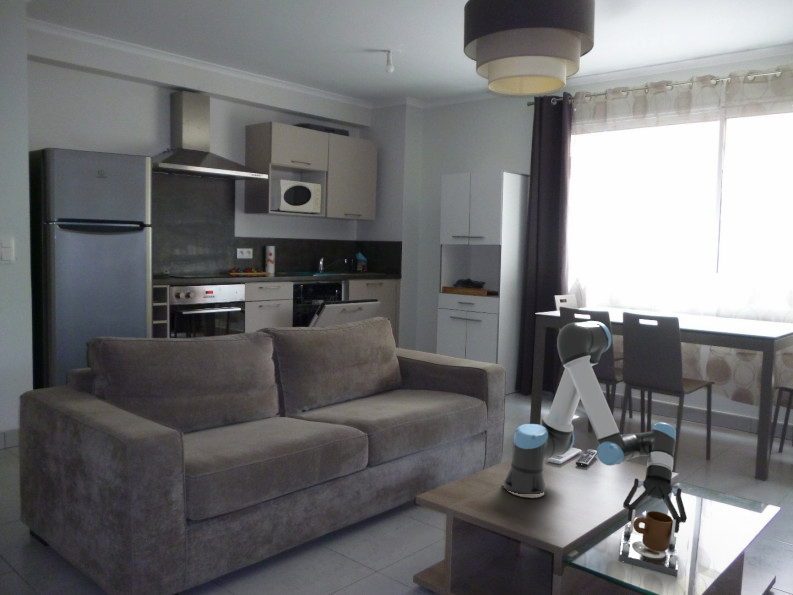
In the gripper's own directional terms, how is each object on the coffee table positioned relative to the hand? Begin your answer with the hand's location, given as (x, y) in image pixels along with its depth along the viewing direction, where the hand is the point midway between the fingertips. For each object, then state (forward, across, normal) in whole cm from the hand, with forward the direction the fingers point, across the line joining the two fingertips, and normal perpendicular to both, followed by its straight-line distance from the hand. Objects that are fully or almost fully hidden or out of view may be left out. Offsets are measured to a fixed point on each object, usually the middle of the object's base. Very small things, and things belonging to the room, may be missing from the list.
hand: (651, 536), depth 196 cm
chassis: (+3, 0, -7) cm, 8 cm away
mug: (+1, 0, -5) cm, 5 cm away
